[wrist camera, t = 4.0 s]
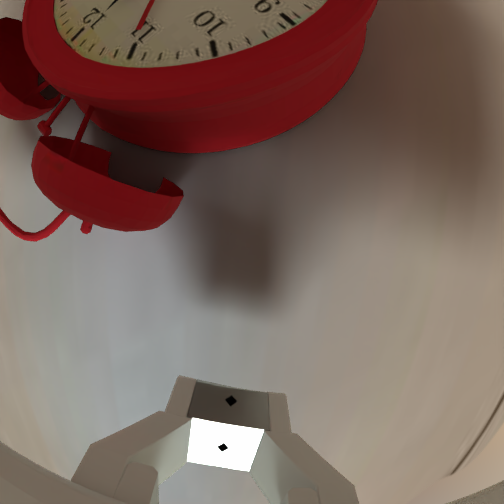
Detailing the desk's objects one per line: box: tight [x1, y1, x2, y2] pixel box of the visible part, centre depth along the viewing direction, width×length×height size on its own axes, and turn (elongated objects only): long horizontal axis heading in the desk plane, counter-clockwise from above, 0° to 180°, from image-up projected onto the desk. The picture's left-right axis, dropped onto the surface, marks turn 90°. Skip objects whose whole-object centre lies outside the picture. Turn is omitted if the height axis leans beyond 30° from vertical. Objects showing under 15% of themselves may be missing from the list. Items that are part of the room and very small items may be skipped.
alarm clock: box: [0, 0, 378, 241], centre depth 6 cm, size 10×6×15 cm
